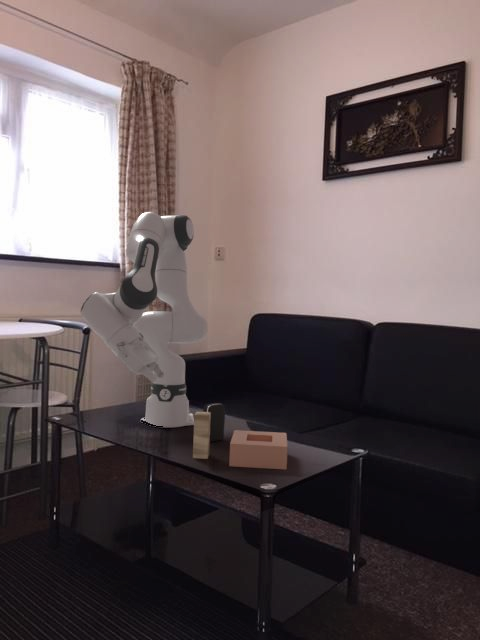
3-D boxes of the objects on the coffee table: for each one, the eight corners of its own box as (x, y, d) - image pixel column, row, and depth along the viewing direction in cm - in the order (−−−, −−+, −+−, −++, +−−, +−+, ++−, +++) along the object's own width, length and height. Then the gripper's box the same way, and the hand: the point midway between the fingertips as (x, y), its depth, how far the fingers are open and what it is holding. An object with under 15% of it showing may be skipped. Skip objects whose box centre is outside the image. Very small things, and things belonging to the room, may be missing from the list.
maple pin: (195, 453, 151) (196, 411, 151) (209, 454, 151) (210, 412, 150) (192, 458, 147) (194, 414, 147) (207, 458, 147) (208, 415, 146)
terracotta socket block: (233, 450, 156) (234, 430, 156) (285, 453, 155) (286, 432, 155) (229, 466, 141) (230, 443, 141) (286, 469, 140) (287, 446, 140)
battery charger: (216, 437, 171) (217, 401, 170) (224, 439, 168) (226, 403, 167) (199, 440, 166) (201, 403, 165) (207, 443, 163) (209, 405, 163)
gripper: (123, 335, 139) (159, 375, 138) (142, 333, 159) (174, 367, 159) (105, 352, 139) (141, 391, 139) (127, 347, 159) (158, 381, 159)
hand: (159, 378), depth 149 cm, fingers open, 8 cm apart
